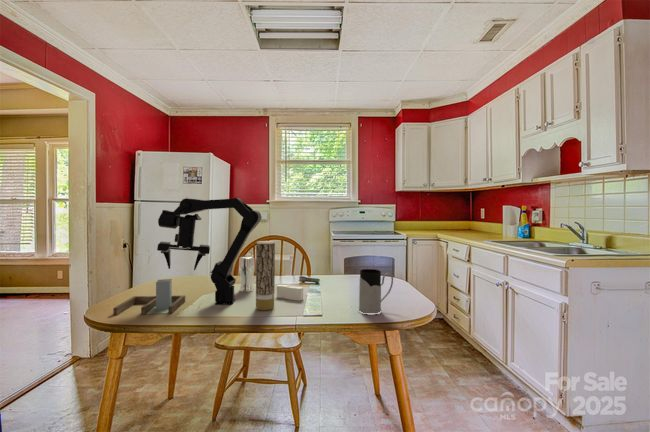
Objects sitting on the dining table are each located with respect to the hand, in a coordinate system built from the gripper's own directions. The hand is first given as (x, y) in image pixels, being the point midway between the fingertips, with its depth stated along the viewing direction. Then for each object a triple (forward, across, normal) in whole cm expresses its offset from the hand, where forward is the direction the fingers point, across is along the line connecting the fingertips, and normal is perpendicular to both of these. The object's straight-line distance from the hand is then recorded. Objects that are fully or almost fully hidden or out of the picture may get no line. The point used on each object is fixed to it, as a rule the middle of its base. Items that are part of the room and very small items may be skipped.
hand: (182, 269), depth 129 cm
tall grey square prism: (+13, +4, +8) cm, 15 cm away
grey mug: (+4, -69, +34) cm, 77 cm away
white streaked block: (+11, -28, -11) cm, 32 cm away
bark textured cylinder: (+9, -31, +19) cm, 37 cm away
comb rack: (+14, +9, +6) cm, 17 cm away
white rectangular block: (+9, -43, +7) cm, 45 cm away
